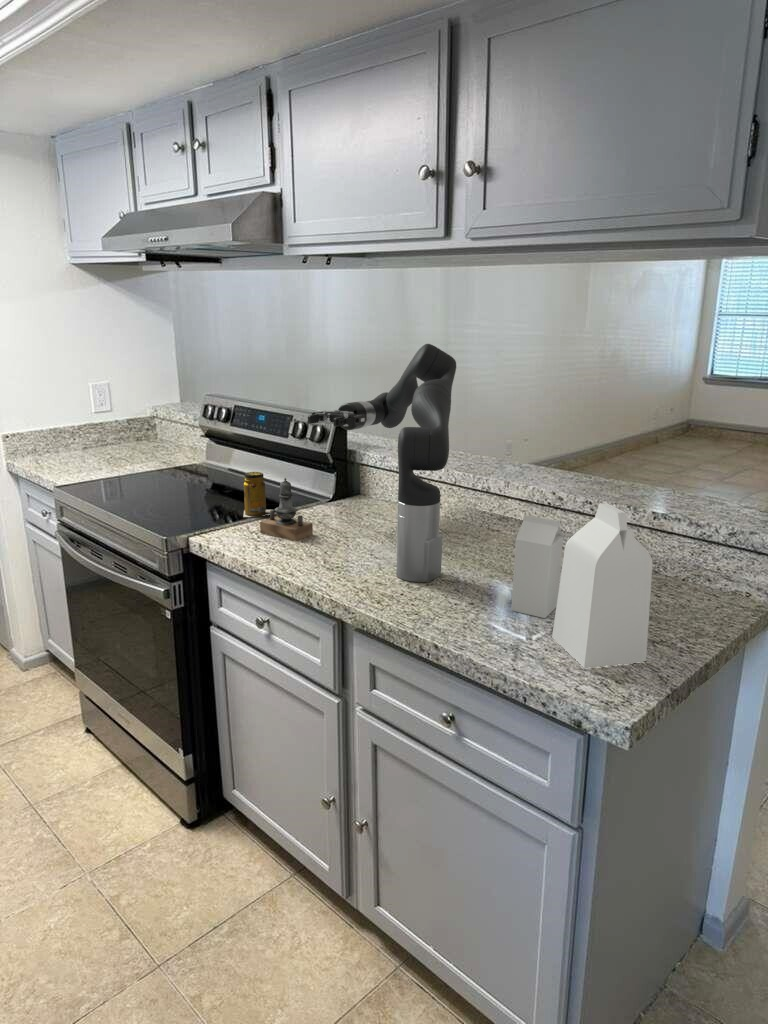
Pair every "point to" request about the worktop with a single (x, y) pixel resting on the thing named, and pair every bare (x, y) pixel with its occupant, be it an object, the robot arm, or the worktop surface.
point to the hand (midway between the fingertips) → (321, 421)
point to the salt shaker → (285, 505)
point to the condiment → (254, 495)
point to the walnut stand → (286, 528)
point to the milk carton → (537, 566)
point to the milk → (604, 593)
